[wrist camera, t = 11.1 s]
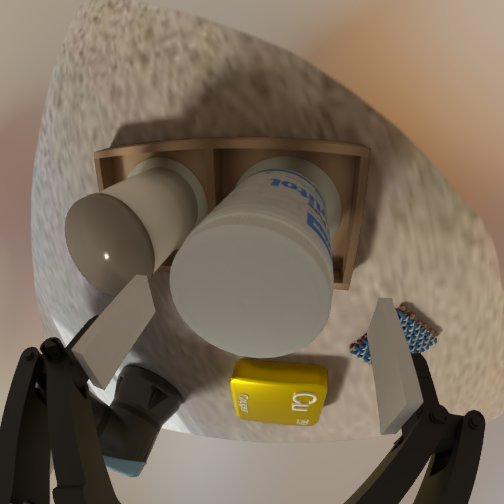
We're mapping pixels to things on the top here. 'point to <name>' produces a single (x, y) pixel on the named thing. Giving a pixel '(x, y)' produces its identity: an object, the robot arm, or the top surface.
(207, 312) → the supplement tub
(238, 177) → the crate
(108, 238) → the canister
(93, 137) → the top surface
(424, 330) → the woven mat
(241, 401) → the element tile
